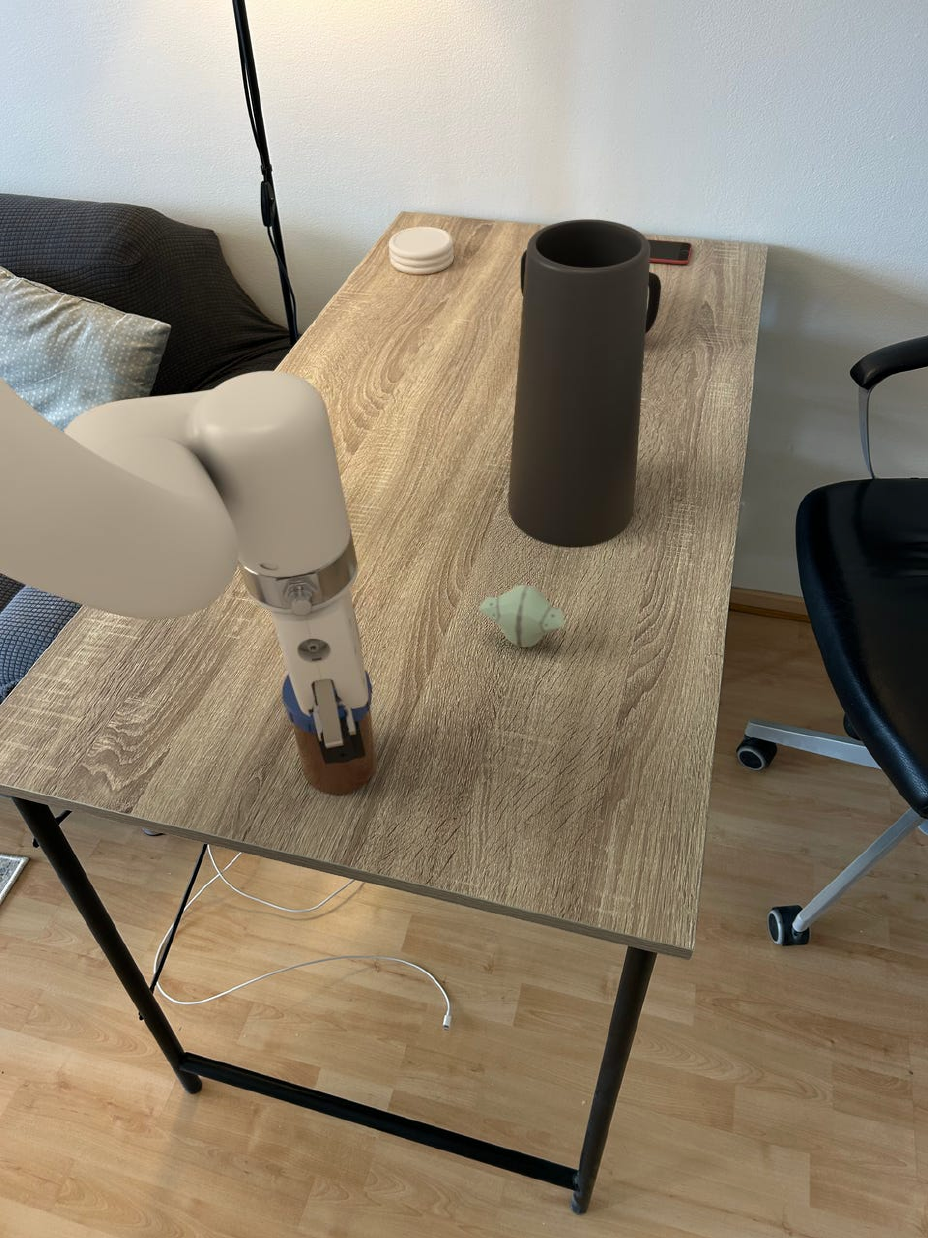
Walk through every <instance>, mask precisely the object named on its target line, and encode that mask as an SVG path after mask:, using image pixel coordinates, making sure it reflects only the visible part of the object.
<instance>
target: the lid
mask: <svg viewBox="0 0 928 1238" xmlns="http://www.w3.org/2000/svg"><path fill="white" fill-rule="evenodd" d="M365 673H366V679H367V687H368V701H367V703H366V704H365V706H364V707H359V708H355V709H352V712H353V717H354V721H358V723H359V722H360V721H361V720H362V719H363V718H364V716H365V715H366V714H367V712H368V711H369V710H371V705H372V700H373V695H372V694H373V693H374V692H373V686H372V685H373V684H372V682H371V679H370V675H369V673H368V671H367V669H365ZM334 691H335V694H337V692H336V690H334ZM281 695H282V697H281V698H282V702H283V707H284V708H285V711H286V714H287V716H288V719H289V720H290V723H291V724H292V723H294V724H295V725H296V726H297V727H299V728H300V729H302V730H304V731H306V732H309V733H313V734H316V731H315V729H316V725H315V720H314V716H313V713H311V716H308V715H306V714H305V713H303V712H302V711H301V709H300V706H299V704H298V701H297V698H296V696H295V693H294V690H293V687H292V683H291V680H290V677H289V674H288V673H287V676H286V677H285V679H284V681H283V685H282V692H281ZM316 698H317V697H316ZM369 708H370V709H369ZM338 713H339V718H340V720H342V719H346V718H345V713H344V708H343V707H341V708H338Z"/></svg>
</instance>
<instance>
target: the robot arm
mask: <svg viewBox="0 0 928 1238" xmlns="http://www.w3.org/2000/svg"><path fill="white" fill-rule="evenodd" d="M323 398H324V397H323V396H322V395H321V393H320V392H319V390H317V388H316V387H315V386H314V385H313V384H312V383H310V381H307V380H306V379H305V378H303V377H301V376H298V375H295V374H292V373H289V372H285V371H278V370H260V371H252V372H247V373H243V374H240V375H237V376H234V377H232V378H230V379H227V380H225V381H224V382H222V383H220V384H218V385H217V386H215V387H214V388H212V389H207V390H199V391H193V392H186V393H185V392H184V393H176V394H167V395H156V396H155V395H154V396H145V397H135V398H129V399H121V400H120V399H119V400H115V401H110V402H107V403H103V404H99V405H96V406H94V407H91V408H89V409H88V410H86V411H84V412H81V413H80V414H79V415H78V416H76V417H75V418H73V420H71V422H69V424H68V425H67V426H66V427H65V428H64V430H63V431H62V430H61V429H60V428H58V427H57V426H55V424H53V423H52V422H51V421H50V420H48V419H47V418H46V417H44V416H43V415H42V414H41V413H39V412H38V411H37V410H36V409H35V408H34V407H33V406H31V405H30V404H29V403H28V402H27V401H26V400H24V399H23V397H21V396H20V395H19V394H18V393H17V392H16V391H15V390H14V388H12V387H11V385H9V384H8V383H7V382H6V381H5V379H3V377H1V376H0V574H1V575H3V576H5V577H7V578H10V579H11V580H14V581H16V582H18V583H21V584H23V585H25V586H28V587H30V588H33V589H35V590H39V591H41V592H44V593H47V594H49V595H53V596H55V597H58V598H60V599H61V598H62V599H64V600H67V601H70V602H73V603H77V604H79V605H82V606H85V607H88V608H91V609H95V610H97V611H101V612H104V613H109V614H113V615H114V616H115V615H116V616H119V617H125V618H131V619H132V618H133V619H138V620H145V621H165V620H174V619H179V618H183V617H187V616H190V615H194V614H195V613H198V612H200V611H202V610H204V609H205V608H207V607H208V606H210V605H212V604H213V603H215V602H216V601H217V600H218V599H219V598H220V597H221V596H222V595H223V594H224V593H225V591H226V590H227V588H228V587H229V586H230V584H231V583H232V581H233V578H234V576H235V574H236V571H237V568H239V571H240V573H241V577H242V580H243V583H244V586H245V589H246V591H247V594H248V596H249V597H250V599H251V600H252V602H254V604H256V605H258V606H259V607H260V608H262V609H265V610H267V611H268V612H270V615H271V618H272V622H273V625H274V629H275V632H276V633H275V634H276V638H277V639H278V640H277V641H278V643H279V647H280V651H281V653H282V657H283V661H284V664H285V667H286V671H287V675H288V674H289V677H290V680H291V683H292V687H293V690H294V693H295V696H296V698H297V701H298V704H299V706H300V709H301V711H302V712H303V713H305V714H306V715H308V716H311V713H313V716H314V720H315V725H316V729H315V731H316V737H317V740H318V743H319V746H320V750H321V753H322V756H323V760H324V762H325V763H326V764H332V763H345V762H349V761H352V760H353V759H358V758H363V757H364V756H365V748H364V744H363V739H362V735H361V731H360V727H359V723H358V721H354V717H353V712H352V709H355V708H359V707H364V706H365V704H366V703H367V701H368V687H367V679H366V673H365V670H366V667H365V661H364V653H363V648H362V641H361V635H360V629H359V624H358V620H357V619H358V618H357V615H356V611H355V608H354V602H353V598H352V594H351V588H352V587H353V585H354V584H355V583H356V580H357V576H358V574H359V573H358V572H359V562H358V558H357V554H356V548H355V544H354V539H353V532H352V529H351V523H350V518H349V513H348V508H347V503H346V497H345V493H344V487H343V482H342V477H341V473H340V468H339V463H338V456H337V452H336V451H337V450H336V447H335V442H334V435H333V432H332V431H333V430H332V426H331V421H330V417H329V413H328V409H327V405H326V402H325V400H324V399H323ZM334 690H336V692H337V694H335V691H334ZM316 697H317V698H316ZM341 707H343V708H344V713H345V718H346V719H342V720H340V718H339V713H338V708H341Z"/></svg>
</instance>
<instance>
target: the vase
mask: <svg viewBox="0 0 928 1238" xmlns="http://www.w3.org/2000/svg"><path fill="white" fill-rule="evenodd" d="M647 239H648V238H646V236H645V235H644V234H643V233H642V232H640V231H638V230H637V229H635V228H633V227H632V226H628V225H626V224H623V223H619V222H616V221H611V220H605V219H593V218H588V219H587V218H586V219H584V218H583V219H570V220H565V221H560V222H556V223H552V224H549V225H547V226H544V227H543V228H541V229H539V230H537V231H536V232H535V233H534V234H533V235H532V236H531V237H530V238H529V240H528V241H527V245H526V249H527V253H526V262H525V275H524V289H523V296H522V304H521V306H522V308H521V316H520V317H521V318H520V319H521V320H520V330H519V331H520V332H519V333H520V334H519V348H518V359H517V372H516V384H515V385H516V386H515V388H516V389H515V398H514V399H515V401H514V414H513V426H512V439H511V440H512V441H511V442H512V443H511V453H510V467H509V468H510V469H509V482H508V495H507V496H508V497H507V508H508V512H509V516H510V517H511V519H512V521H513V523H514V524H515V525H516V527H518V529H519V530H521V531H522V532H523V533H525V534H526V535H528V536H529V537H531V538H533V539H535V540H536V541H540V542H542V543H545V544H549V545H553V546H559V547H569V548H570V547H571V548H574V547H575V548H576V547H588V546H589V547H590V546H593V545H598V544H600V543H605V542H606V541H609V540H611V539H612V538H615V537H616V536H618V535H619V534H621V533H622V532H623V531H624V530H625V529H626V528H627V527H628V525H629V524H630V522H631V521H632V518H633V515H634V511H635V510H634V509H635V501H636V500H635V497H636V484H637V468H638V456H639V438H640V424H641V406H642V390H643V379H644V378H643V376H644V375H643V372H644V360H645V346H646V345H645V344H646V334H645V331H646V312H647V297H648V283H649V272H650V267H651V266H650V265H651V262H650V245H649V242H648V240H647Z"/></svg>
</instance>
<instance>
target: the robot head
mask: <svg viewBox="0 0 928 1238" xmlns="http://www.w3.org/2000/svg"><path fill="white" fill-rule="evenodd" d="M477 611H478V612H480V614H482V615H484V616H485V617H486V618H488V619H490V620H491V621H493V622H494V623H495V624H496V625H497V626H498V627H499V628H500V630H501V631H502V633H503V635H504V637H505V639H506V640H507V641H509V643H511V644H512V645H515V646H518V647H520V648H532V647H533V646H535V645H536V644H538V643H539V642H540V641H541V640H542V638H543V637H544V636H545V635H547V634H548V633H550V632H553V631H555V630H559V629H562V628H565V621H564V620H565V619H564V612H563V610H560V609H559V608H555V607H554V606H553V605H552V604H551V603H550V601H549V600H548V599H547V598H546V596H544V595H543V594H542V592H541V591H540V590H539V588H537V587H535V586H532V585H529V584H519V585H517V586H515V587H513V588H511V589H509V590H508V591H506V592H504V593H502V594H501V595H499V596H486V597H485V599H483V602H481V604H480V606H479V607H478V608H477Z"/></svg>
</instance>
